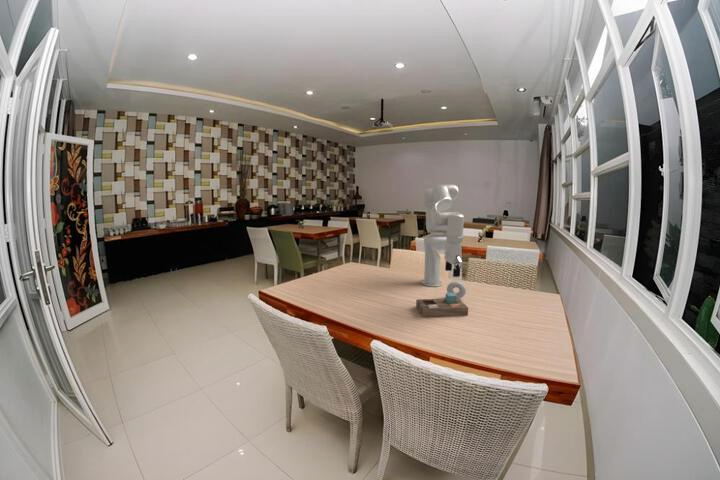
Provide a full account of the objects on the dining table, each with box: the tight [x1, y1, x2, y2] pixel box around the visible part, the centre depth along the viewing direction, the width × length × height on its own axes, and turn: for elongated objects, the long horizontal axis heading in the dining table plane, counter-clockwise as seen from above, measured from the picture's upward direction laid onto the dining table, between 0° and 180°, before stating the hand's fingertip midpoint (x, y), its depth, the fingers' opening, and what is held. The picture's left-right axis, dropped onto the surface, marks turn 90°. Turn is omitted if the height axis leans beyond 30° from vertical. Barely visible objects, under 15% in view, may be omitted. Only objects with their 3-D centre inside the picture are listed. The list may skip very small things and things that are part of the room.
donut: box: [446, 280, 467, 300], centre depth 157 cm, size 10×4×10 cm, turn 69°
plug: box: [444, 292, 457, 304], centre depth 144 cm, size 4×4×8 cm
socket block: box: [415, 298, 469, 318], centre depth 142 cm, size 12×22×4 cm, turn 95°
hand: (452, 273), depth 141 cm, fingers open, 9 cm apart
